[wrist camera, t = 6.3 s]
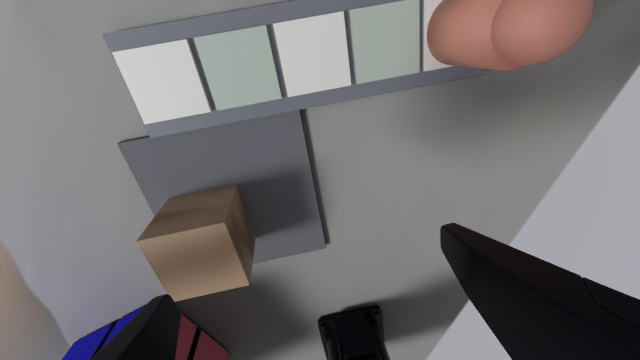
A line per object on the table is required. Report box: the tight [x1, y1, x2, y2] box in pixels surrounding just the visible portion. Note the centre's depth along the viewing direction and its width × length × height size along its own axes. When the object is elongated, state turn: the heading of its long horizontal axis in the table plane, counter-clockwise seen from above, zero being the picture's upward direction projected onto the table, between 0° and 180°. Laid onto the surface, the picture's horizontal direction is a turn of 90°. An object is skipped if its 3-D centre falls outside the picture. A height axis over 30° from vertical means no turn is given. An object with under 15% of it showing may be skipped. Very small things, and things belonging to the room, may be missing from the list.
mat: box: [117, 110, 326, 264], centre depth 21 cm, size 12×12×1 cm
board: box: [103, 0, 485, 138], centre depth 17 cm, size 6×22×1 cm, turn 99°
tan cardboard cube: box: [136, 184, 256, 302], centre depth 19 cm, size 5×5×5 cm
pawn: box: [427, 0, 594, 71], centre depth 14 cm, size 4×4×8 cm
